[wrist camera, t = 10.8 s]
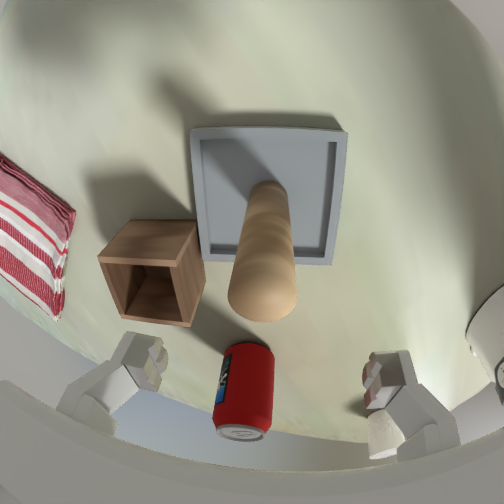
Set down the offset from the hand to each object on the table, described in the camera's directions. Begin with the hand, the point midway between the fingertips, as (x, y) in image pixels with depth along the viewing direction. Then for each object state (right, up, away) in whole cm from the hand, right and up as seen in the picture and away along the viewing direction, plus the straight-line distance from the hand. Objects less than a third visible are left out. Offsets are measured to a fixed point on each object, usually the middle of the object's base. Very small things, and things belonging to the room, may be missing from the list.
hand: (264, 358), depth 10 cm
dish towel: (-33, +5, +20) cm, 39 cm away
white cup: (+27, -31, +36) cm, 55 cm away
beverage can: (-1, -10, +26) cm, 27 cm away
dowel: (+1, +8, +13) cm, 15 cm away
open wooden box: (-9, +4, +17) cm, 20 cm away
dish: (+1, +9, +13) cm, 16 cm away
